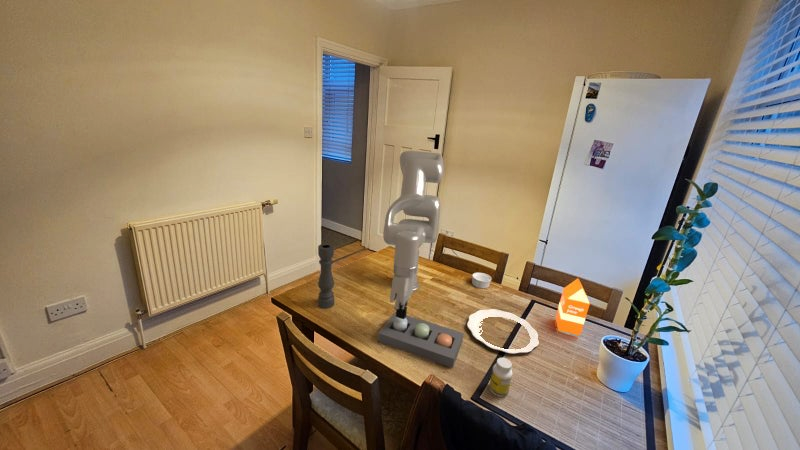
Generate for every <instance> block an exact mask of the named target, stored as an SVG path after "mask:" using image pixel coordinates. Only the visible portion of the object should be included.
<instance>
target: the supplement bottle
mask: <svg viewBox="0 0 800 450" xmlns="http://www.w3.org/2000/svg"><path fill="white" fill-rule="evenodd" d="M512 366H513V365H512V362H511V361H510V359H508V358H506V357H499V358H497V360H496V363H495V364H494V365H493V366H492V370H491V375H490V376H491V377H490V381H489V385H488V386H489V390H490V392H491V393H492V394H493V395H495V396H496V395H497V396H496V397H499V398H504V397H506V396H507V395H508V394H509V391H510V388H511V382H512V379H513V370H512Z"/></svg>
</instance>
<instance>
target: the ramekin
mask: <svg viewBox="0 0 800 450" xmlns="http://www.w3.org/2000/svg"><path fill="white" fill-rule="evenodd" d="M471 278H472V280H471V283H472V285H473V287H476V288H478V289H482V288H483V289H484V288H485V289H487V288H489V287H490V285H491V282H492V276H490V275H489V274H488V273H487V274H486V273H483V272H474V273H472V275H471Z"/></svg>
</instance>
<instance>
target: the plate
mask: <svg viewBox="0 0 800 450" xmlns="http://www.w3.org/2000/svg"><path fill="white" fill-rule="evenodd" d="M488 317H503V318H507V319H511V320H514V321H516V322H518V323H520V324H521V325H523V326H524V327H525V329H527V331H528V333H529V336H530V338H531V339H530V343H529V344H528V345H527V346H526V347H524V348H521V349H516V350H515V349H504V348H500V347H497V346H494V345H492V344H490V343H488V342H486V341H485V340H484V339H483V338H482V337H481V336H480V335H481V334H482V332H483V330H482V327H481V328H479V326H481V325H482V324H481V323H483V322H481V321H483V319H485V318H488ZM480 322H481V323H480ZM466 325H467V329H468V330H469V331H470V332H471V334H472V337H473V338H474V339H475V340H477V341H479V342H481V343H482V344H484V345H485V346H487V348H490V349H491V350H492V349H493V350H495V351H500V352H502V353H503V352H504V353H506V354H511V355H515V354H520V353H521V354H527V353H528V354H529V353H531V352H532V351H533V349H534V348H536V347H538V346H539V342H540V340H539V339H538V337H539V334H538V332H537V330H536V329H534V328H533V327H532V326H531V324H530V322H528V321H527V320H525V319H524V318H521V317H519V316H517V315H516V314H514V313H511V312H509V311H504V310H500V309H495V308H492V309H491V308H489V309H480V310H476V312H474V313H471V314H470V315H469V316H468V321H467V323H466ZM480 330H482V332H481V333H479V332H480Z"/></svg>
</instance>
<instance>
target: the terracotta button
mask: <svg viewBox="0 0 800 450" xmlns="http://www.w3.org/2000/svg"><path fill="white" fill-rule="evenodd" d="M437 344H438V345H441V346H444V347H447V348H450V349H451V344H452V338H451V336H449V335H448V334H439V335H438V337H437Z"/></svg>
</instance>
